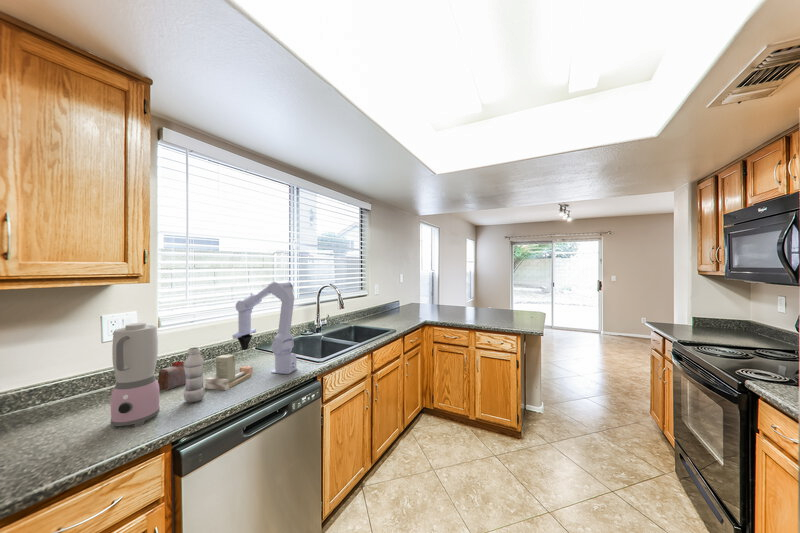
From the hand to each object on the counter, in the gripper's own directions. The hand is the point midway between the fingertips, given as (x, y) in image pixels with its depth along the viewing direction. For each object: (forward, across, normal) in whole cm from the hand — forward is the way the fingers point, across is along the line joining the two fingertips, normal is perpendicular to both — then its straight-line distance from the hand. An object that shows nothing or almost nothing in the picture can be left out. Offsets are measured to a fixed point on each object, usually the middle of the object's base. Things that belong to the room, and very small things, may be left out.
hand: (244, 349), depth 153 cm
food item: (+9, +26, -12) cm, 30 cm away
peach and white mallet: (+8, +15, +9) cm, 19 cm away
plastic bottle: (+9, +39, +10) cm, 41 cm away
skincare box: (+9, +22, +9) cm, 26 cm away
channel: (+8, +20, +9) cm, 23 cm away
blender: (+9, +56, +4) cm, 57 cm away
